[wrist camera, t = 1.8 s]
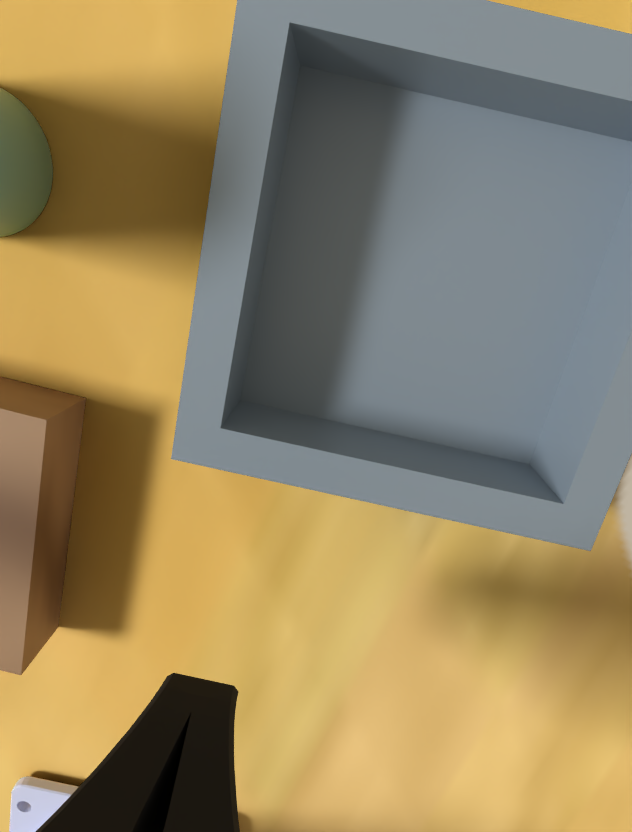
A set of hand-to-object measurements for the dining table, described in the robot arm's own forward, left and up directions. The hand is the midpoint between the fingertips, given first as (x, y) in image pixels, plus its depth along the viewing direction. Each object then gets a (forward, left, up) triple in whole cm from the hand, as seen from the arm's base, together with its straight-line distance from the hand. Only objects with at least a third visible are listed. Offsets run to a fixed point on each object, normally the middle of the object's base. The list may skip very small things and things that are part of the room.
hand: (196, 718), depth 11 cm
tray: (+9, -3, -6) cm, 11 cm away
